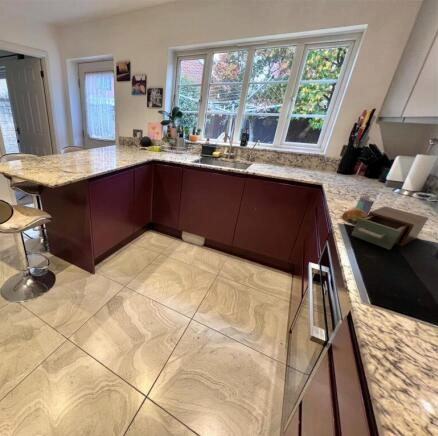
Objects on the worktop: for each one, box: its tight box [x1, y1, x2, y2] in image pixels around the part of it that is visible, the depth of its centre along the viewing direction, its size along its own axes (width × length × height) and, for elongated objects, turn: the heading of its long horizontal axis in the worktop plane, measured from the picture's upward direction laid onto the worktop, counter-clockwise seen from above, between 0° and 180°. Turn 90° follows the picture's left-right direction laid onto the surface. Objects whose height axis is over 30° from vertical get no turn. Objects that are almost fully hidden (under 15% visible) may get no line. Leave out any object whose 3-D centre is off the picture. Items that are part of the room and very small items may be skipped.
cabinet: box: [367, 206, 429, 247], centre depth 99 cm, size 16×14×10 cm
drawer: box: [350, 215, 410, 251], centre depth 93 cm, size 20×13×8 cm, turn 118°
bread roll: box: [341, 207, 369, 225], centre depth 112 cm, size 10×10×8 cm
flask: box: [354, 194, 375, 214], centre depth 120 cm, size 9×3×11 cm, turn 164°
